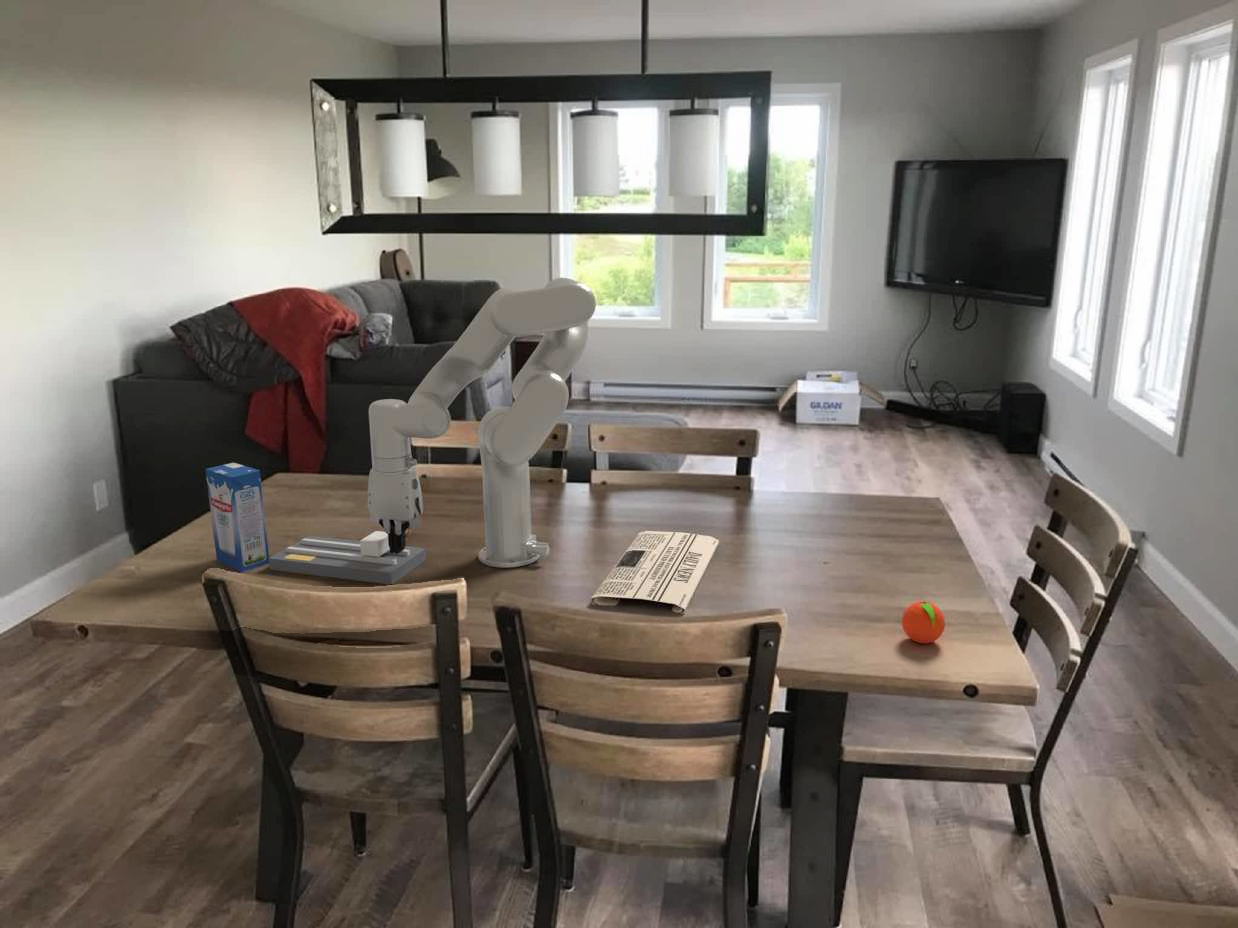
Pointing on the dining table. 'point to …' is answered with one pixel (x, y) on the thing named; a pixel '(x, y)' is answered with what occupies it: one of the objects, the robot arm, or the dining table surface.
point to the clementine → (923, 622)
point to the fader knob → (374, 544)
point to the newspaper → (659, 569)
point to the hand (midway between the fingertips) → (397, 551)
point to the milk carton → (238, 516)
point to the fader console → (346, 560)
